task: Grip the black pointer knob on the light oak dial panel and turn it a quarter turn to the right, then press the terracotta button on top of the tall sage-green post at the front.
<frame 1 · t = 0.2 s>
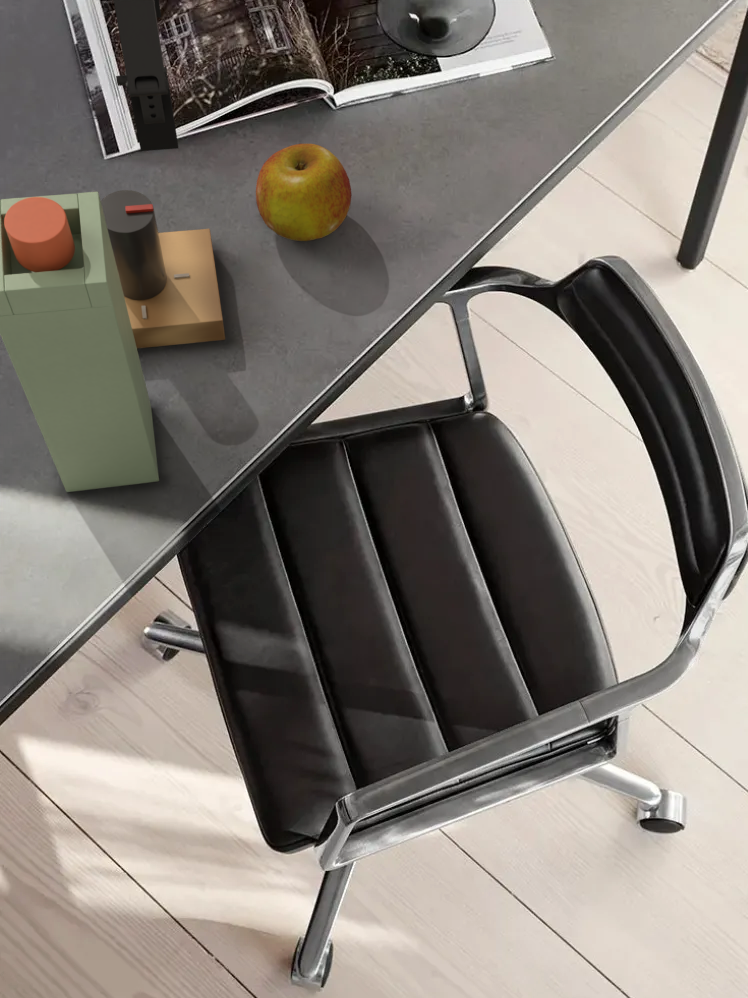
hand: (151, 78, 85), 26 cm above the table, tool pointing down, fingers open, 13 cm apart
dial knob: (133, 245, 101), point 8 cm above the table, hinge at 0.0°
button stand: (109, 448, 101), on the table
dial panel: (145, 300, 108), on the table
fruit: (304, 223, 114), on the table
start button: (40, 235, 76), point 28 cm above the table, slide at 0.1 cm
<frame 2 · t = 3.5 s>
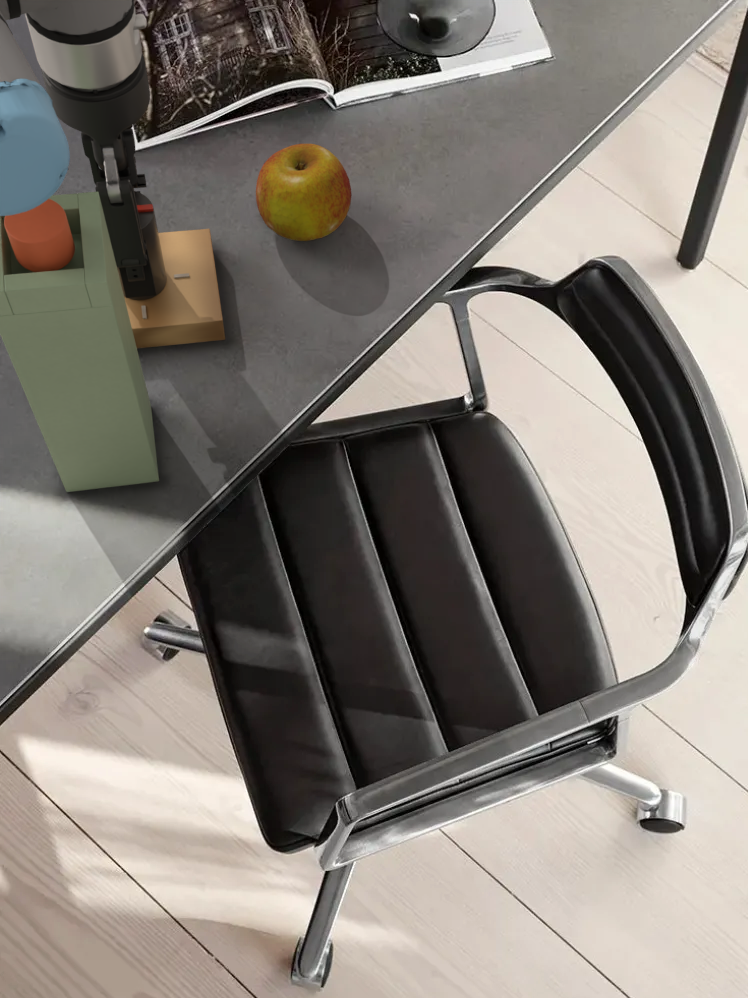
hand: (138, 269, 104), 5 cm above the table, tool pointing down, fingers closed on dial knob, 5 cm apart
dial knob: (133, 245, 101), point 8 cm above the table, hinge at -0.1°, touching gripper
everything else where it was.
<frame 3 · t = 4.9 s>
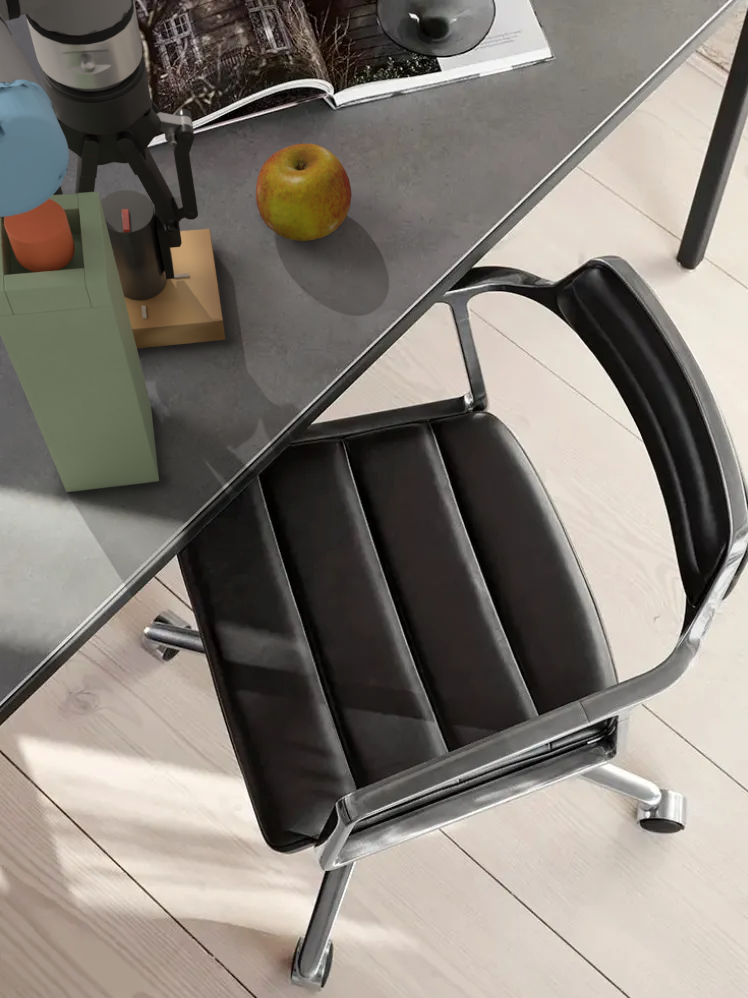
hand: (138, 269, 104), 5 cm above the table, tool pointing down, fingers closed on dial knob, 5 cm apart
dial knob: (133, 245, 101), point 8 cm above the table, hinge at -91.5°, touching gripper
everything else where it was.
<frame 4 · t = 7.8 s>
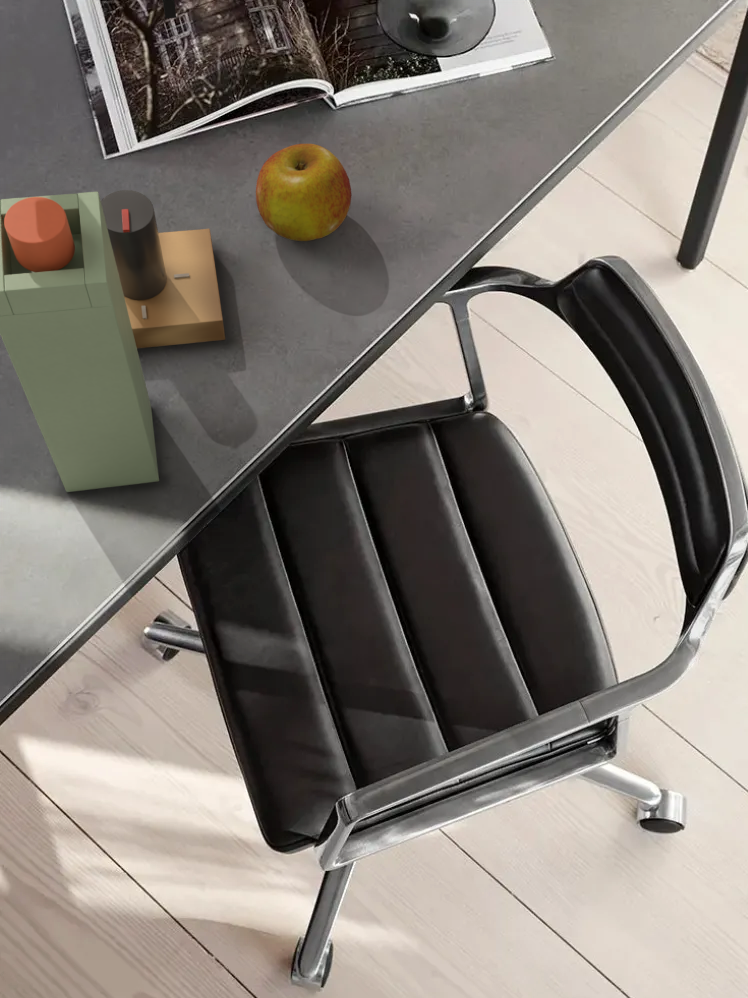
hand: (68, 10, 77), 33 cm above the table, tool pointing down, fingers open, 13 cm apart
dial knob: (133, 245, 101), point 8 cm above the table, hinge at -91.9°
everything else where it was.
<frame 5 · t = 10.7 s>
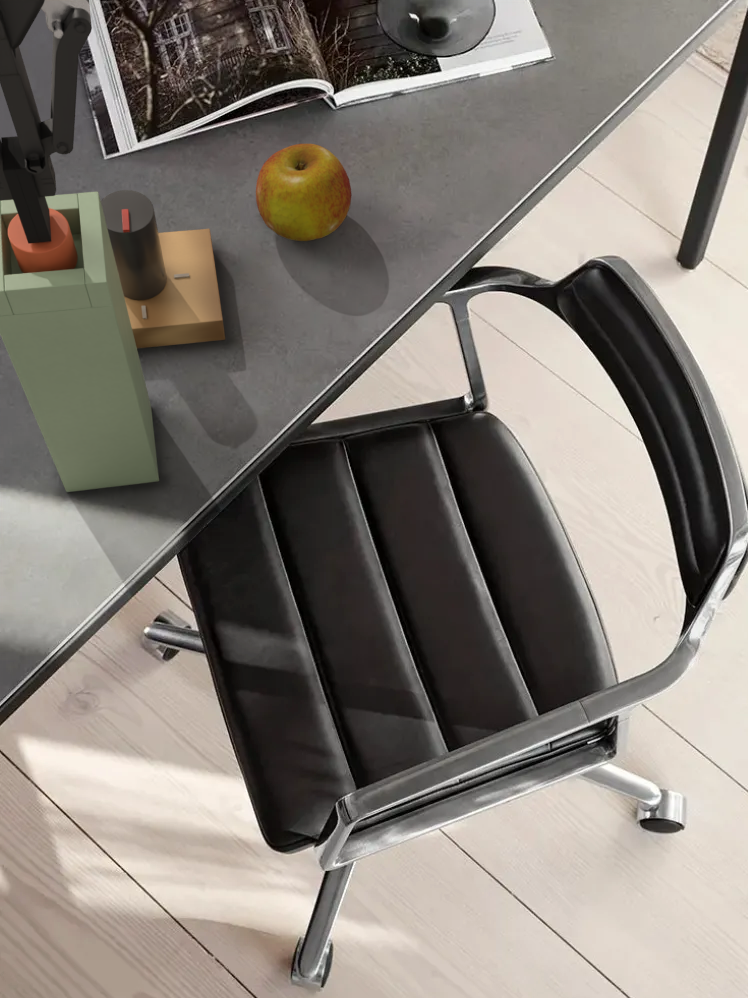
hand: (38, 226, 75), 28 cm above the table, tool pointing down, fingers closed
start button: (43, 244, 77), point 27 cm above the table, slide at -0.8 cm, touching gripper
everything else where it was.
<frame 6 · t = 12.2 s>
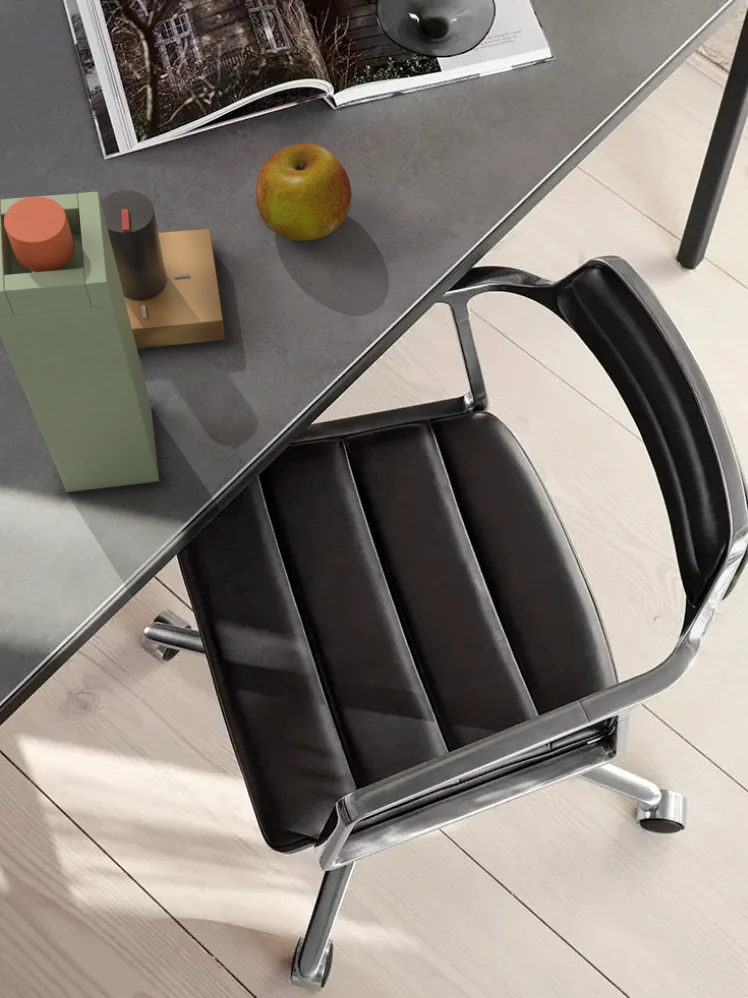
start button: (40, 234, 76), point 28 cm above the table, slide at 0.2 cm
everything else where it was.
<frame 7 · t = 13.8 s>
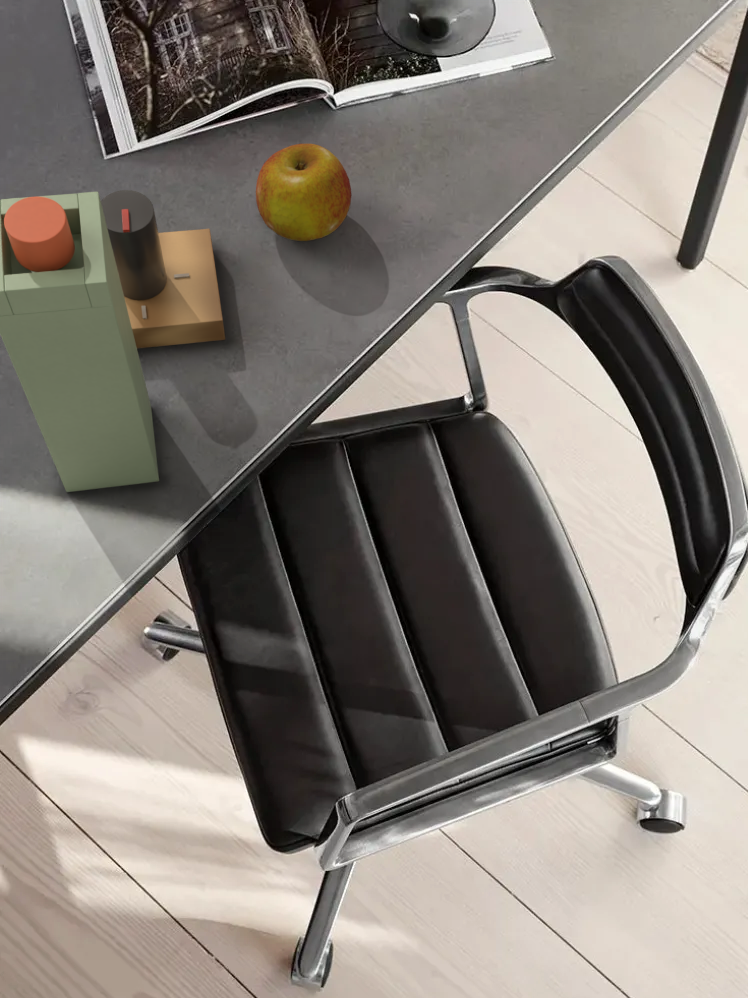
nothing on the table moved.
at the end: dial knob at -92° (first picture: +0°); start button pushed in 0.9 cm at the most during the clip, back to 0.2 cm at the end; start button slide at 0.2 cm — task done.
